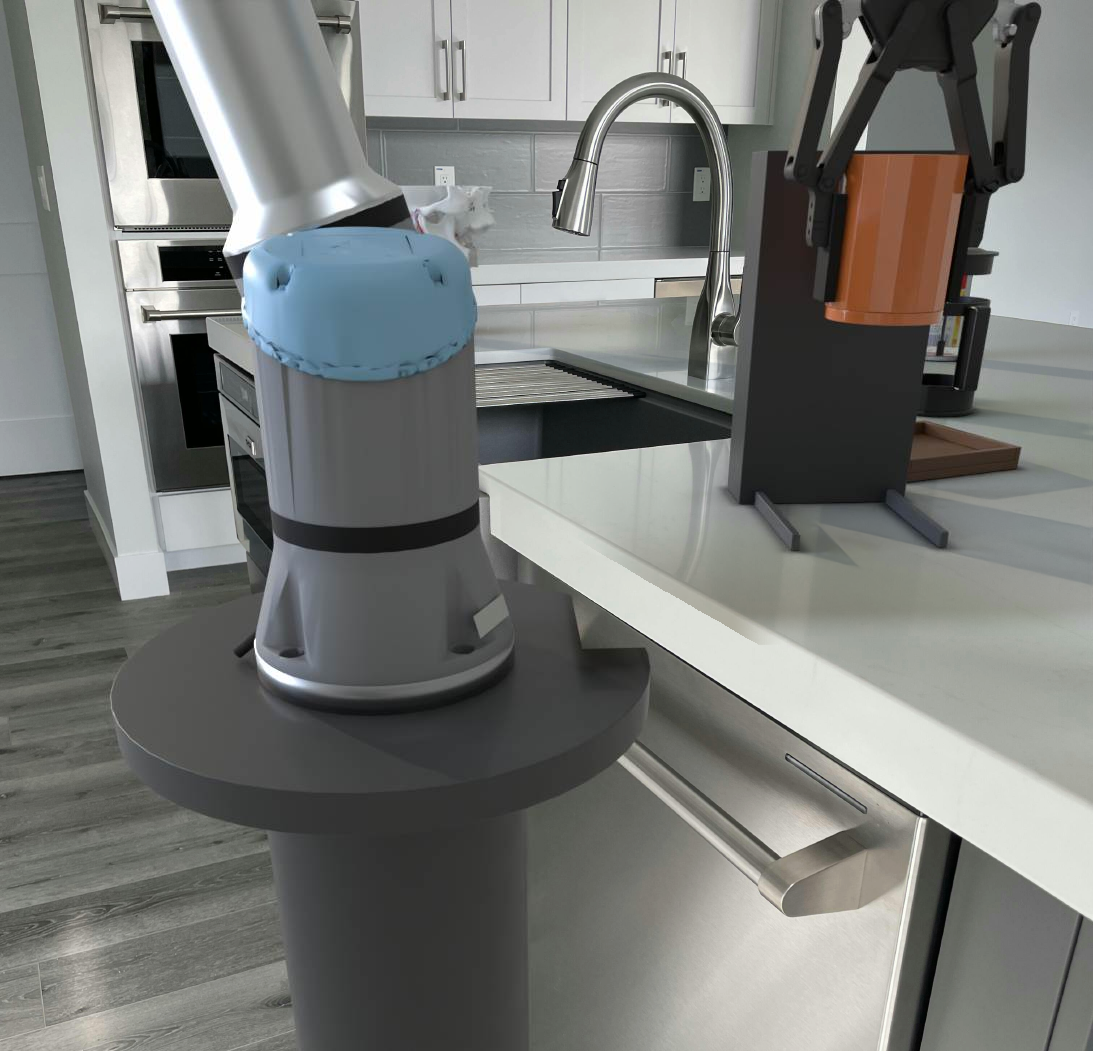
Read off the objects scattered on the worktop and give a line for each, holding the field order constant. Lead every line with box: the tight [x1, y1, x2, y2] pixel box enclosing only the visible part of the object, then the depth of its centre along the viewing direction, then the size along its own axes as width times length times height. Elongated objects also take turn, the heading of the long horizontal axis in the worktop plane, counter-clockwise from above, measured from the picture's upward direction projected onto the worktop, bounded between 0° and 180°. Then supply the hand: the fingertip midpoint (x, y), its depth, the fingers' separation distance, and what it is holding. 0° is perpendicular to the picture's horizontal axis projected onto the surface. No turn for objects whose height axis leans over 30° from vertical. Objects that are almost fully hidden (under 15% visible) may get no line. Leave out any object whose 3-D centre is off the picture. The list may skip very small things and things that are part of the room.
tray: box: [907, 420, 1022, 483], centre depth 103 cm, size 13×13×2 cm
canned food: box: [927, 276, 968, 348], centre depth 159 cm, size 8×8×12 cm
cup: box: [825, 154, 969, 326], centre depth 72 cm, size 8×8×10 cm
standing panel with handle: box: [726, 149, 956, 551], centre depth 81 cm, size 14×18×26 cm
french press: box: [917, 189, 1000, 418], centre depth 120 cm, size 12×9×23 cm
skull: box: [398, 185, 498, 269], centre depth 181 cm, size 25×19×23 cm
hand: (884, 299), depth 74 cm, fingers closed on cup, 8 cm apart
